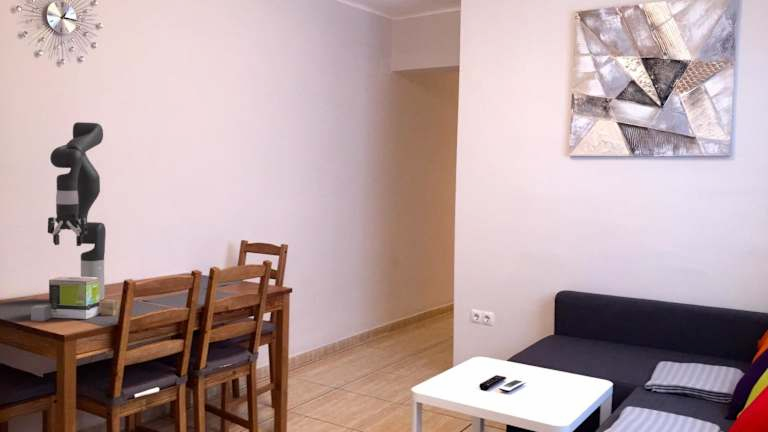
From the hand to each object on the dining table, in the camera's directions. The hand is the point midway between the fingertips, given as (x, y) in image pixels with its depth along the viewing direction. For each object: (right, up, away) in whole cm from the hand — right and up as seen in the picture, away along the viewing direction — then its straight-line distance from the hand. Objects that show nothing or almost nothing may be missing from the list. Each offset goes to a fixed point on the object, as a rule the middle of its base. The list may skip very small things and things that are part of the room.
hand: (67, 245), depth 247 cm
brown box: (+12, -27, +9) cm, 31 cm away
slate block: (-9, -28, -3) cm, 29 cm away
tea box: (+1, -28, +4) cm, 28 cm away
